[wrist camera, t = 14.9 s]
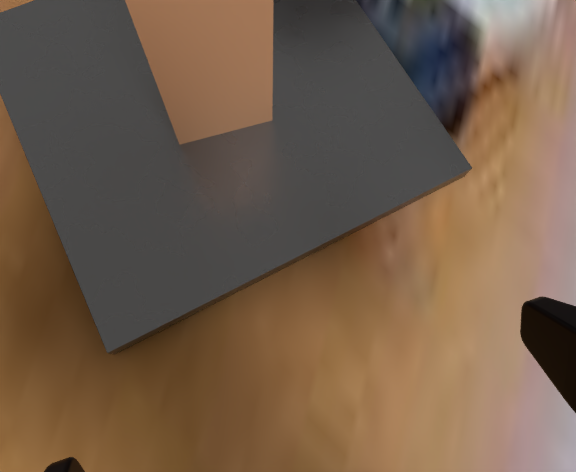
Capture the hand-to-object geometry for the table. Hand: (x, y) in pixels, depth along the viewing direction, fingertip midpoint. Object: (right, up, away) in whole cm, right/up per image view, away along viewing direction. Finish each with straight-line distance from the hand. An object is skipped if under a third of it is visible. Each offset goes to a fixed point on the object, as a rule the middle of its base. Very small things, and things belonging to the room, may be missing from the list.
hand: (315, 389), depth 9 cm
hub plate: (-5, +10, +17) cm, 21 cm away
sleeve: (-5, +11, +16) cm, 20 cm away
